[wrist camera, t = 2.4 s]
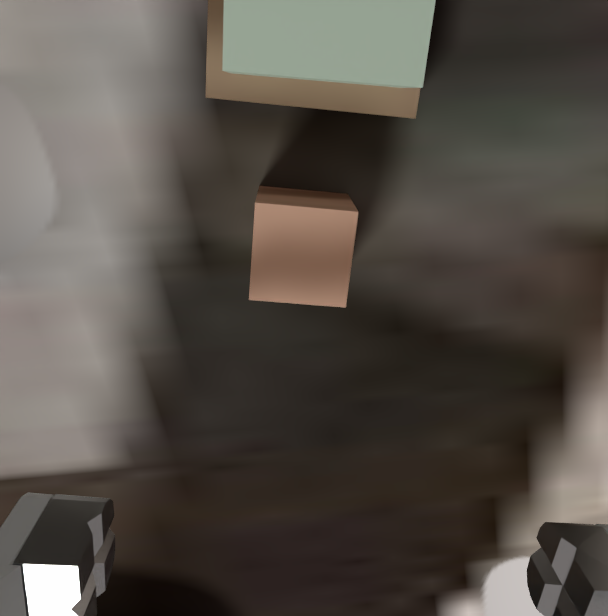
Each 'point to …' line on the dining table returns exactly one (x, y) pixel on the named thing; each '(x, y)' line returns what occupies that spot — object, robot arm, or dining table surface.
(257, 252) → the terracotta cube
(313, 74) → the sage block
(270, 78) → the walnut block
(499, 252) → the dining table surface
